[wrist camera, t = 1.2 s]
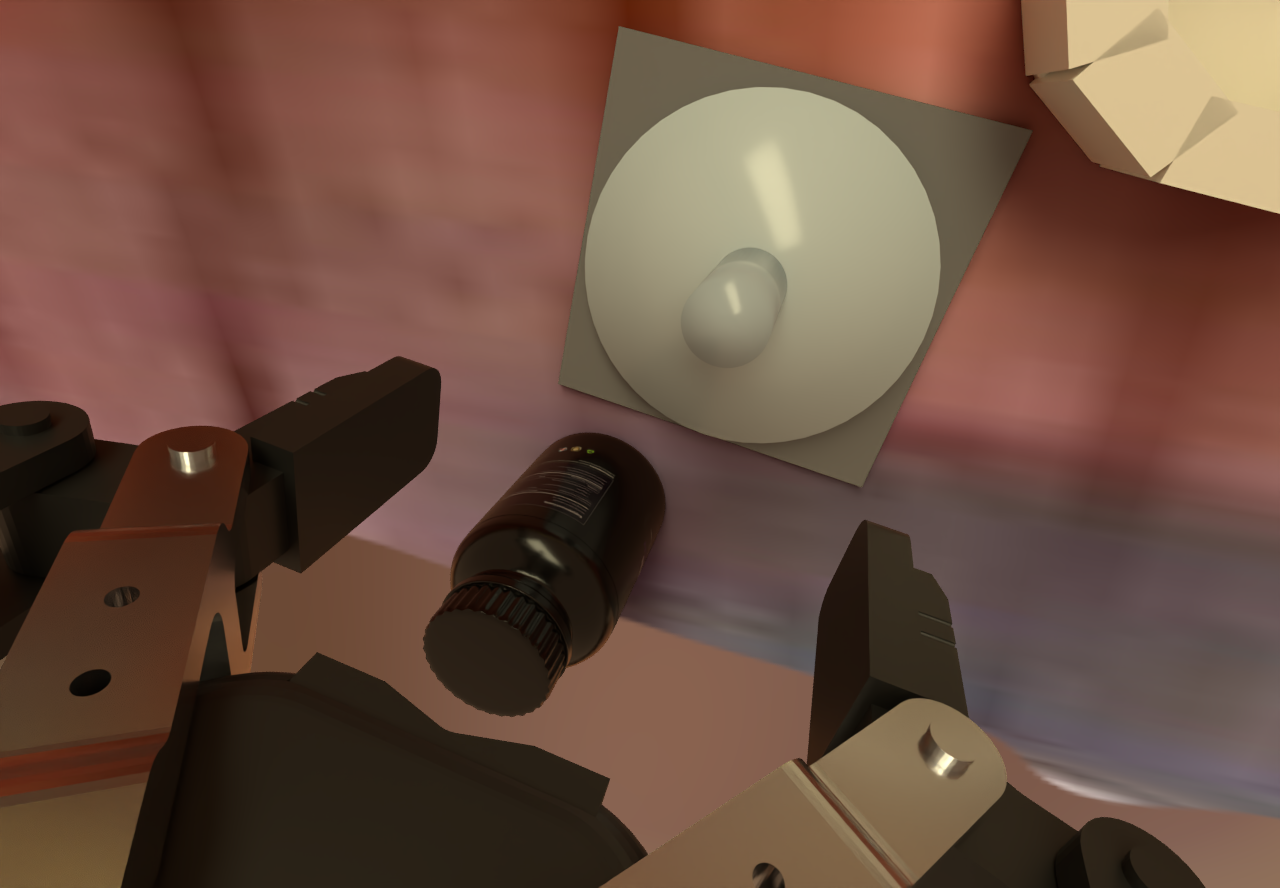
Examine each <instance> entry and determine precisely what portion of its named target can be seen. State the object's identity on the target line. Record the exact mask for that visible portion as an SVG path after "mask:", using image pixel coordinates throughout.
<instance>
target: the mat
mask: <svg viewBox="0 0 1280 888" xmlns="http://www.w3.org/2000/svg"><path fill="white" fill-rule="evenodd" d="M753 87H776V88H788V89H793V90H799V91H805V92H810V93H813V94H816V95H819V96H822V97H825V98H828V99H831V100H834V101H836V102H838V103H840V104H842V105H844V106H846V107H848V108H850V109H852V110H854V111H856V112H858V113H859V114H860V115H862V116H863V117H865V118H866V119H867V120H869V121H870V122H871V123H873V124H874V125H876V126H877V127H878V128H879V129H880V130H881V131H882V132H883V133H884V134H885V135H886V136H887V137H888V138H889V139H890V140H891V141H892V142H893V143H894V144H895V145H896V146H897V147H898V148H899V149H900V151H901V152H902V153H903V155H904V156H905V157H906V159H907V160H908V161H909V163H910V164H911V165H912V167H913V168H914V170H915V172H916V174H917V176H918V178H919V179H920V181H921V183H922V185H923V187H924V189H925V191H926V193H927V196H928V199H929V202H930V205H931V207H932V210H933V213H934V216H935V221H936V226H937V231H938V237H939V242H940V264H941V269H940V279H939V289H938V295H937V299H936V304H935V308H934V312H933V316H932V319H931V321H930V324H929V326H928V329H927V332H926V334H925V337H924V339H923V341H922V343H921V345H920V346H919V348H918V350H917V352H916V354H915V355H914V357H913V359H912V361H911V362H910V363H909V365H908V366H907V367H906V369H905V370H904V371H903V373H902V374H901V376H900V377H899V378H898V379H897V381H896V382H895V383H894V384H893V385H892V386H891V387H890V388H889V389H888V390H887V391H886V392H885V393H884V394H883V395H882V396H881V397H880V398H878V399H877V400H876V401H875V402H874V403H872V404H871V405H870V406H869V407H867V408H866V409H865V410H863V411H862V412H860V413H859V414H857V415H855V416H854V417H852V418H851V419H849V420H847V421H846V422H844V423H842V424H839V425H837V426H835V427H833V428H831V429H829V430H827V431H824V432H821V433H818V434H815V435H812V436H809V437H806V438H801V439H796V440H791V441H786V442H775V443H742V442H736V441H729V440H725V441H727V442H730V443H733V444H736V445H739V446H742V447H745V448H748V449H751V450H754V451H757V452H760V453H763V454H766V455H768V456H771V457H774V458H777V459H780V460H783V461H786V462H789V463H792V464H795V465H798V466H801V467H804V468H807V469H809V470H812V471H815V472H818V473H821V474H824V475H827V476H830V477H833V478H836V479H839V480H842V481H845V482H848V483H850V484H853V485H856V486H859V487H862V486H863V484H864V482H865V479H866V477H867V475H868V473H869V471H870V469H871V467H872V465H873V463H874V461H875V459H876V457H877V454H878V452H879V450H880V448H881V446H882V444H883V442H884V440H885V438H886V436H887V434H888V432H889V429H890V427H891V425H892V423H893V421H894V419H895V417H896V415H897V413H898V411H899V409H900V407H901V404H902V402H903V400H904V398H905V396H906V394H907V392H908V390H909V388H910V386H911V384H912V382H913V379H914V377H915V375H916V373H917V371H918V369H919V367H920V365H921V363H922V361H923V359H924V357H925V354H926V352H927V350H928V348H929V346H930V344H931V342H932V340H933V338H934V336H935V334H936V332H937V329H938V327H939V325H940V323H941V321H942V319H943V317H944V315H945V313H946V311H947V309H948V307H949V304H950V302H951V300H952V298H953V296H954V294H955V292H956V290H957V288H958V286H959V284H960V282H961V279H962V277H963V275H964V273H965V271H966V269H967V267H968V265H969V263H970V261H971V259H972V257H973V254H974V252H975V250H976V248H977V246H978V244H979V242H980V240H981V238H982V236H983V234H984V232H985V229H986V227H987V225H988V223H989V221H990V219H991V217H992V215H993V213H994V211H995V209H996V207H997V204H998V202H999V200H1000V198H1001V196H1002V194H1003V192H1004V190H1005V188H1006V186H1007V184H1008V182H1009V179H1010V177H1011V175H1012V173H1013V171H1014V169H1015V167H1016V165H1017V163H1018V161H1019V159H1020V157H1021V154H1022V152H1023V150H1024V148H1025V146H1026V144H1027V142H1028V140H1029V138H1030V136H1031V134H1032V132H1033V130H1029V129H1025V128H1021V127H1017V126H1013V125H1009V124H1005V123H1001V122H997V121H993V120H989V119H985V118H981V117H977V116H973V115H969V114H965V113H961V112H957V111H953V110H949V109H945V108H941V107H937V106H933V105H929V104H925V103H922V102H918V101H914V100H910V99H906V98H902V97H898V96H894V95H890V94H886V93H882V92H878V91H874V90H870V89H866V88H862V87H858V86H854V85H850V84H846V83H842V82H838V81H834V80H830V79H826V78H822V77H818V76H814V75H810V74H806V73H803V72H799V71H795V70H791V69H787V68H783V67H779V66H775V65H771V64H767V63H763V62H759V61H755V60H751V59H747V58H743V57H739V56H735V55H731V54H727V53H723V52H719V51H715V50H711V49H707V48H703V47H699V46H695V45H691V44H687V43H684V42H680V41H676V40H672V39H668V38H664V37H660V36H656V35H652V34H648V33H644V32H640V31H636V30H632V29H628V28H624V27H620V26H619V29H618V35H617V41H616V47H615V53H614V59H613V65H612V71H611V77H610V82H609V88H608V94H607V100H606V106H605V112H604V118H603V124H602V129H601V135H600V141H599V147H598V153H597V159H596V165H595V171H594V176H593V182H592V188H591V194H590V200H589V206H588V212H587V218H586V224H585V229H584V235H583V241H582V247H581V253H580V259H579V265H578V271H577V276H576V282H575V288H574V294H573V300H572V306H571V312H570V318H569V323H568V329H567V335H566V341H565V347H564V353H563V359H562V365H561V371H560V376H559V382H558V384H560V385H563V386H566V387H569V388H572V389H575V390H578V391H581V392H584V393H587V394H590V395H593V396H596V397H599V398H601V399H604V400H607V401H610V402H613V403H616V404H619V405H622V406H625V407H628V408H631V409H634V410H637V411H640V412H642V413H645V414H648V415H651V416H654V417H657V418H660V419H663V420H666V421H669V422H672V423H675V424H678V425H681V424H679V423H677V422H675V421H674V420H672V419H670V418H668V417H666V416H665V415H664V414H662V413H661V412H659V411H658V410H657V409H655V408H654V407H652V406H651V405H650V404H649V403H647V402H646V401H645V400H644V399H643V398H642V397H641V396H640V395H639V394H637V393H636V392H635V391H634V389H633V388H632V387H631V386H630V385H629V384H628V383H627V382H626V380H625V379H624V378H623V377H622V376H621V374H620V373H619V371H618V370H617V369H616V367H615V366H614V364H613V363H612V361H611V360H610V358H609V356H608V354H607V352H606V351H605V349H604V347H603V345H602V343H601V341H600V338H599V336H598V333H597V331H596V328H595V326H594V323H593V319H592V316H591V312H590V308H589V304H588V298H587V291H586V283H585V254H586V245H587V236H588V232H589V228H590V224H591V220H592V215H593V213H594V210H595V207H596V205H597V202H598V199H599V197H600V194H601V192H602V190H603V188H604V186H605V185H606V183H607V181H608V179H609V177H610V175H611V173H612V172H613V170H614V169H615V168H616V166H617V165H618V163H619V162H620V161H621V159H622V158H623V156H624V155H625V154H626V153H627V151H628V150H629V149H630V148H631V147H632V146H633V145H634V144H635V143H636V142H637V141H638V140H639V139H640V137H641V136H642V135H644V134H645V133H646V132H647V131H649V130H650V129H651V128H652V127H653V126H655V125H656V124H657V123H658V122H660V121H661V120H662V119H664V118H666V117H667V116H669V115H670V114H672V113H674V112H675V111H677V110H679V109H680V108H682V107H684V106H686V105H689V104H691V103H693V102H695V101H698V100H700V99H702V98H705V97H708V96H711V95H715V94H719V93H722V92H726V91H730V90H736V89H745V88H753ZM681 426H683V425H681ZM683 427H685V426H683ZM686 428H687V427H686ZM689 429H690V428H689ZM722 440H723V439H722Z"/></svg>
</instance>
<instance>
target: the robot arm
mask: <svg viewBox="0 0 1280 888" xmlns="http://www.w3.org/2000/svg"><path fill="white" fill-rule="evenodd" d="M440 392H441V376H440V373H439V371H438V370H437V369H435V368H432V367H429V366H427V365H424V364H421V363H418V362H415V361H412V360H409V359H406V358H404V357H400V356H398V357H394V358H392V359H390V360H388V361H387V362H385V363H383V364H381V365H379V366H378V367H376V368H374V369H372V370H370V371H368V372H365V371H364V372H359V373H355V374H351V375H346V376H342V377H337V378H335V379H333V380H331V381H329V382H327V383H325V384H323V385H322V386H320V387H318V388H316V389H315V390H314V392H311V391H310V392H308V393H306V394H304V395H302V396H301V397H299V398H297V400H296V402H294V401H291V402H289V403H287V404H285V405H283V406H282V407H280V408H278V409H276V410H274V411H272V412H270V413H268V414H266V415H264V416H263V417H261V418H259V419H257V420H255V421H253V422H251V423H249V424H247V425H245V426H243V427H242V428H240V429H238V430H236V431H231V430H228V429H224V428H220V427H212V426H189V427H181V428H176V429H171V430H167V431H164V432H161V433H159V434H156V435H154V436H152V437H150V438H148V439H146V440H145V441H143V442H142V443H141V444H140V445H132V444H125V443H118V442H111V441H104V440H97V439H94V437H93V433H92V429H91V425H90V421H89V417H88V415H87V414H86V412H85V411H83V410H82V409H80V408H78V407H76V406H74V405H70V404H66V403H61V402H52V401H29V402H19V403H12V404H7V405H2V406H0V660H1V659H3V658H4V657H5V656H7V657H6V659H5V661H4V663H3V665H2V667H1V669H0V888H1205V886H1204V885H1203V884H1202V882H1201V881H1200V879H1199V878H1198V877H1197V876H1196V875H1195V873H1194V872H1193V871H1192V870H1191V869H1190V868H1189V866H1187V864H1186V863H1184V861H1182V860H1181V858H1180V857H1179V856H1178V855H1176V854H1175V853H1174V852H1173V851H1172V850H1171V849H1169V848H1168V847H1167V846H1166V845H1165V844H1163V843H1162V842H1161V841H1159V840H1158V839H1156V838H1155V837H1154V836H1152V835H1150V834H1149V833H1147V832H1146V831H1144V830H1142V829H1140V828H1138V827H1136V826H1134V825H1133V824H1130V823H1127V822H1125V821H1122V820H1119V819H1114V818H1108V817H1100V818H1095V819H1093V820H1091V821H1089V822H1087V823H1086V825H1084V826H1083V827H1082V828H1081V829H1080V830H1079V831H1076V830H1075V829H1073V828H1072V827H1070V826H1069V825H1067V824H1066V823H1064V822H1063V821H1061V820H1060V819H1058V818H1057V817H1055V816H1054V815H1052V814H1051V813H1049V812H1048V811H1046V810H1045V809H1043V808H1042V807H1040V806H1039V805H1037V804H1036V803H1035V802H1033V801H1032V800H1030V799H1029V798H1027V797H1026V796H1024V795H1023V794H1021V793H1020V792H1019V791H1017V790H1016V789H1015V788H1014V787H1013V786H1012V785H1010V784H1009V783H1008V782H1007V776H1006V770H1005V766H1004V763H1003V760H1002V758H1001V756H1000V754H999V752H998V750H997V749H996V747H995V746H994V744H993V743H992V741H991V740H990V739H989V738H988V736H987V735H986V734H985V733H984V732H983V731H982V730H981V729H980V728H979V727H978V726H977V725H976V724H975V723H974V722H972V721H971V720H970V719H969V716H968V711H967V705H966V699H965V694H964V688H963V682H962V676H961V671H960V665H959V659H958V654H957V648H954V647H955V644H956V642H955V636H954V631H953V628H951V625H952V619H951V614H950V608H949V602H948V599H947V597H946V596H945V594H944V592H943V591H942V589H941V588H940V586H939V585H938V583H937V582H936V580H935V579H934V577H933V576H932V574H929V573H927V572H924V571H921V570H918V569H915V568H913V559H912V550H911V541H910V537H909V535H908V534H905V533H902V532H899V531H896V530H893V529H890V528H888V527H885V526H882V525H879V524H876V523H873V522H870V521H867V520H864V521H862V522H861V524H860V525H859V527H858V528H857V530H856V532H855V534H854V536H853V538H852V540H851V542H850V544H849V546H848V548H847V550H846V552H845V554H844V556H843V558H842V560H841V562H840V564H839V566H838V568H837V570H836V573H835V575H834V577H833V579H832V581H831V583H830V585H829V587H828V589H827V592H826V594H825V597H824V600H823V603H822V607H821V611H820V615H819V622H818V634H817V646H816V659H815V671H814V683H813V697H812V708H811V720H810V733H809V745H808V757H807V765H806V763H805V762H804V761H803V760H802V759H800V758H798V759H794V760H791V761H789V762H787V763H785V764H784V765H782V766H781V767H779V768H778V769H776V770H775V771H773V772H772V773H770V774H769V775H767V776H766V777H764V778H763V779H761V780H760V781H758V782H757V783H755V784H754V785H752V786H751V787H749V788H748V789H746V790H745V791H743V792H742V793H740V794H739V795H737V796H736V797H734V798H733V799H731V800H730V801H728V802H727V803H725V804H724V805H722V806H721V807H719V808H718V809H716V810H715V811H713V812H712V813H710V814H709V815H707V816H706V817H704V818H703V819H701V820H700V821H698V822H697V823H695V824H694V825H692V826H691V827H689V828H688V829H686V830H685V831H683V832H682V833H680V834H679V835H677V836H676V837H674V838H673V839H671V840H670V841H668V842H667V843H665V844H664V845H662V846H661V847H659V848H658V849H656V850H655V851H653V852H652V853H650V854H649V855H648V854H647V852H646V850H645V849H644V847H643V846H642V845H641V844H640V842H639V841H638V840H637V839H636V837H635V836H634V835H633V833H632V832H631V831H630V830H629V829H628V828H627V827H626V826H625V825H624V824H623V823H622V822H621V821H620V820H619V819H618V818H617V817H616V816H615V815H614V814H613V813H611V812H610V811H609V810H608V809H606V808H605V807H604V806H603V805H602V802H603V799H604V796H605V792H606V790H607V787H608V784H609V780H610V779H609V778H607V777H605V776H603V775H600V774H598V773H595V772H593V771H590V770H588V769H586V768H584V767H582V766H579V765H577V764H575V763H572V762H570V761H568V760H565V759H563V758H561V757H558V756H556V755H554V754H551V753H549V752H547V751H545V750H542V749H540V748H538V747H535V746H531V745H525V744H519V743H513V742H507V741H500V740H495V739H489V738H483V737H477V736H471V735H465V734H458V733H453V732H450V731H447V730H445V729H443V728H442V727H440V726H439V725H438V724H437V723H435V722H434V721H433V720H432V719H430V718H429V717H428V716H427V715H425V714H424V713H423V712H422V711H421V710H419V709H418V708H417V707H415V706H414V705H413V704H412V703H411V702H409V701H408V700H407V699H406V698H405V697H403V696H402V695H401V694H399V692H397V691H396V690H395V689H393V688H392V687H391V686H390V685H388V684H387V683H386V682H385V681H382V680H380V679H378V678H375V677H373V676H371V675H368V674H366V673H364V672H362V671H359V670H357V669H355V668H352V667H350V666H348V665H345V664H343V663H341V662H338V661H336V660H334V659H331V658H329V657H327V656H324V655H322V654H320V653H318V652H317V653H316V654H315V655H314V656H313V657H312V658H311V659H310V660H309V661H308V662H307V663H306V664H305V665H304V666H303V667H302V668H301V669H300V670H299V671H298V672H297V673H296V674H295V673H286V672H285V673H284V672H255V673H250V671H251V663H252V656H253V649H254V642H255V635H256V628H257V621H258V614H259V607H260V600H261V593H262V585H263V580H262V570H263V569H265V568H266V567H267V566H268V565H270V564H271V563H272V562H274V563H277V564H279V565H282V566H284V567H287V568H289V569H292V570H294V571H296V572H299V573H302V572H303V571H304V570H306V569H307V568H308V567H309V566H310V565H312V564H313V563H314V562H315V561H316V560H318V559H319V558H320V557H321V556H322V555H323V554H325V553H326V552H327V551H328V550H329V549H331V548H332V547H333V546H334V545H335V544H336V543H338V542H339V541H340V540H341V539H342V538H344V537H345V536H346V535H347V534H348V533H350V532H351V531H352V530H353V529H354V528H356V527H357V526H358V525H359V524H360V523H361V522H363V521H364V520H365V519H366V518H367V517H369V516H370V515H371V514H372V513H373V512H375V511H376V510H377V509H378V508H379V507H380V506H382V505H383V504H384V503H385V502H386V501H388V500H389V499H390V498H391V497H392V496H394V495H395V494H396V493H397V492H398V491H399V490H401V489H402V488H403V487H404V486H405V485H407V484H408V483H409V482H410V481H411V480H413V479H414V478H415V477H416V476H417V475H418V474H420V473H421V472H422V471H423V470H424V469H425V468H426V467H427V465H428V464H429V462H430V460H431V459H432V456H433V454H434V452H435V448H436V444H437V436H438V421H439V407H440Z"/></svg>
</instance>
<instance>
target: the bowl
mask: <svg viewBox="0 0 1280 888" xmlns="http://www.w3.org/2000/svg"><path fill="white" fill-rule="evenodd" d="M1021 9H1022V26H1023V42H1024V58H1025V75H1026V76H1029V75H1034V78H1035V79H1034V80H1033V81H1032V82H1031V83H1030V84H1029V85H1030V87H1031V88H1032V89H1033V90H1034V92H1035V93H1036V94H1037V95H1038V96H1039V98H1040V99H1041V100H1042V101H1043V103H1044V104H1045V105H1046V106H1047V108H1048V109H1049V110H1050V111H1051V112H1052V114H1053V115H1054V116H1055V117H1056V119H1057V120H1058V121H1059V122H1060V124H1061V125H1062V126H1063V127H1064V128H1065V130H1066V131H1067V132H1068V133H1069V135H1070V136H1071V137H1072V138H1073V140H1074V141H1075V142H1076V143H1077V144H1078V146H1079V147H1080V148H1081V149H1082V151H1083V152H1084V153H1085V154H1086V156H1087V157H1088V158H1089V159H1090V160H1091V162H1094V163H1098V164H1100V165H1099V167H1103V168H1107V169H1110V170H1114V171H1118V172H1121V173H1125V174H1129V175H1132V176H1136V177H1140V178H1143V179H1147V180H1151V181H1154V182H1158V183H1162V184H1166V185H1170V186H1173V187H1177V188H1181V189H1185V190H1189V191H1193V192H1197V193H1201V194H1205V195H1209V196H1212V197H1216V198H1220V199H1224V200H1228V201H1232V202H1236V203H1240V204H1244V205H1248V206H1251V207H1255V208H1259V209H1263V210H1267V211H1271V212H1275V213H1279V214H1280V0H1021Z"/></svg>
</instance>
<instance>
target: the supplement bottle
mask: <svg viewBox="0 0 1280 888" xmlns="http://www.w3.org/2000/svg"><path fill="white" fill-rule="evenodd" d="M664 514H665V495H664V490H663V487H662V483H661V481H660V479H659V477H658V475H657V473H656V471H655V470H654V468H653V467H652V465H651V464H650V463H649V461H648V460H647V459H646V458H645V457H644V456H643V455H642V454H641V453H640V452H639V451H638V450H636V449H635V448H634V447H632V446H631V445H629V444H627V443H626V442H624V441H622V440H620V439H617V438H615V437H612V436H609V435H604V434H599V433H578V434H573V435H569V436H566V437H564V438H562V439H560V440H558V441H556V442H555V443H553V444H552V445H551V446H549V447H548V448H547V449H546V450H545V451H544V452H543V453H542V454H541V455H540V456H539V457H538V458H537V459H536V460H535V461H534V462H533V464H532V465H531V466H530V467H529V468H528V469H527V470H526V471H525V472H524V473H523V474H522V475H521V477H520V478H519V479H518V480H517V481H516V482H515V483H514V484H513V485H512V486H511V487H510V489H509V490H508V491H507V492H506V493H505V494H504V495H503V496H502V497H501V498H500V499H499V501H498V502H497V503H496V504H495V505H494V506H493V507H492V508H491V509H490V510H489V511H488V512H487V514H486V515H485V516H484V517H483V518H482V519H481V520H480V521H479V522H478V523H477V524H476V526H475V527H474V528H473V529H472V530H471V531H470V532H469V533H468V535H467V536H466V537H465V538H464V540H463V541H462V542H461V544H460V545H459V547H458V549H457V551H456V553H455V555H454V558H453V561H452V566H451V574H450V584H451V592H450V593H449V594H448V595H447V597H446V598H445V600H444V601H443V604H442V606H441V608H439V610H438V611H437V612H436V613H435V614H434V616H433V617H432V618H431V620H430V623H429V624H428V625H427V627H426V629H425V635H424V637H423V641H424V644H425V645H424V647H423V649H424V651H425V653H426V659H427V661H428V662H429V664H430V668H431V670H432V671H433V672H434V673H435V674H436V677H437V679H438V680H440V681H441V682H442V683H443V684H444V686H445V688H447V689H448V690H449V691H451V692H452V693H453V694H454V696H456V697H457V698H459V699H461V700H463V701H464V702H465V703H466V704H468V705H471V706H473V707H475V708H476V709H477V710H482V711H485V712H487V713H489V714H496V715H499V716H510V717H514V716H516V715H521V716H523V715H525V714H526V713H530V712H533V711H534V710H535V709H536V708H539V707H540V706H542V704H543V703H544V701H545V700H547V698H548V697H549V696H550V694H551V692H552V690H553V688H554V686H555V684H556V682H557V680H558V679H559V678H560V677H561V676H562V674H563V673H564V671H565V669H566V668H568V667H571V666H574V665H577V664H579V663H581V662H583V661H585V660H587V659H588V658H590V657H592V656H593V655H594V654H595V653H597V652H598V651H599V650H600V649H601V648H602V647H603V645H604V644H605V643H606V641H607V640H608V638H609V636H610V635H611V633H612V631H613V629H614V627H615V625H616V623H617V621H618V619H619V617H620V615H621V612H622V610H623V608H624V606H625V604H626V602H627V599H628V597H629V595H630V593H631V591H632V589H633V587H634V584H635V582H636V580H637V578H638V576H639V574H640V572H641V569H642V567H643V565H644V563H645V561H646V559H647V556H648V554H649V552H650V550H651V548H652V546H653V544H654V541H655V539H656V537H657V534H658V532H659V530H660V528H661V525H662V522H663V518H664Z"/></svg>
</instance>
